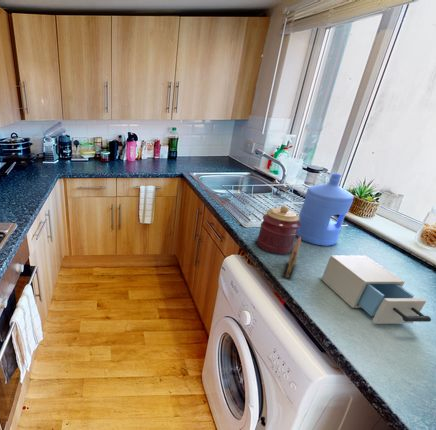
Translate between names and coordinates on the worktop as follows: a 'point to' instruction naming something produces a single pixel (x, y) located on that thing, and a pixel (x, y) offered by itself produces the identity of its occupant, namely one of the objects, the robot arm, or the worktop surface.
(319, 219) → the water jug
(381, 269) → the small drawer cabinet
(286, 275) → the ammunition clip
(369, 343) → the worktop surface
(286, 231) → the kitchen canister
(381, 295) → the cabinet drawer
